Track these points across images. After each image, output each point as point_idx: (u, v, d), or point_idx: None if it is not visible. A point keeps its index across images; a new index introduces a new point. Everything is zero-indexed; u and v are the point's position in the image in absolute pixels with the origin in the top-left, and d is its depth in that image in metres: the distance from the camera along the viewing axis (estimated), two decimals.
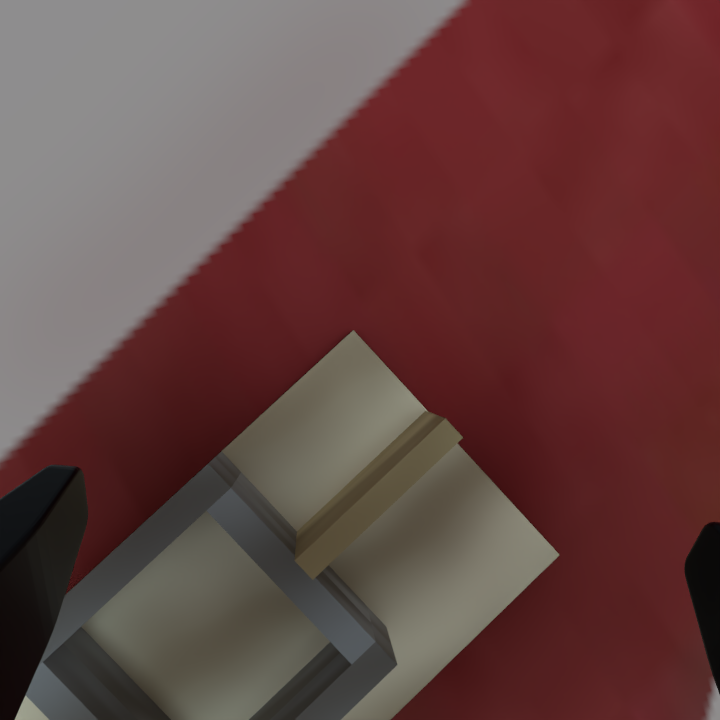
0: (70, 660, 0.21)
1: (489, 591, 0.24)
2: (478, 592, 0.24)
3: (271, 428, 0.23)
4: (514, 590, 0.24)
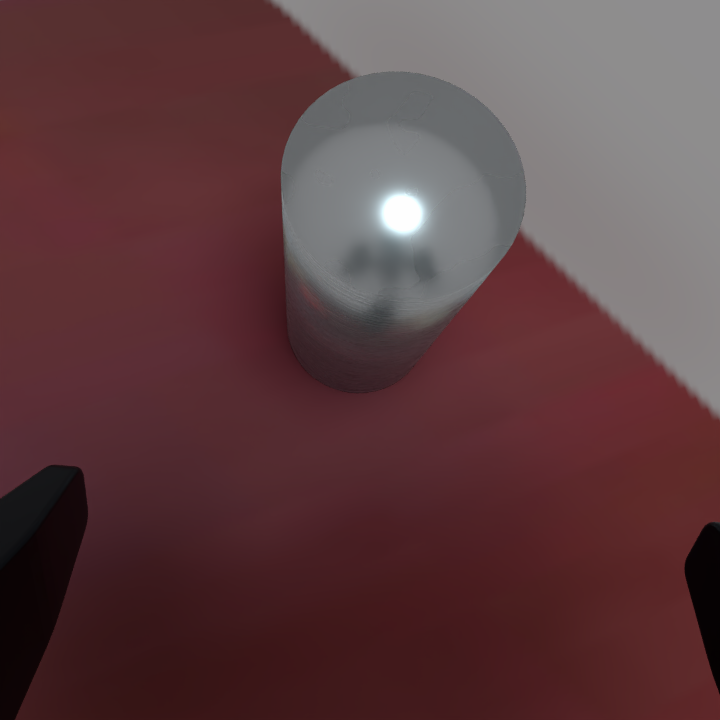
0: None
1: None
2: None
3: None
4: None
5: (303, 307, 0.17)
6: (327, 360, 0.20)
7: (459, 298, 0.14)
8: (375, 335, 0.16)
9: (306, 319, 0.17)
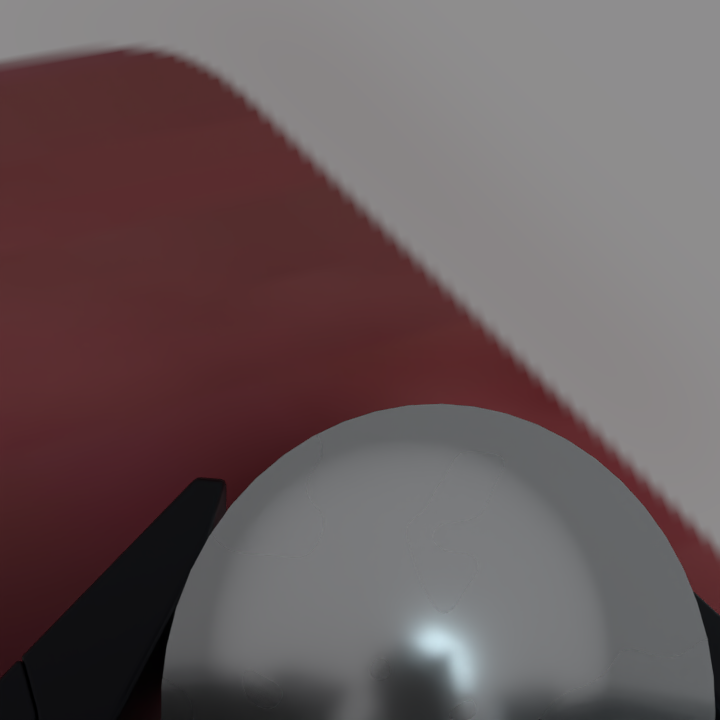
0: None
1: None
2: None
3: None
4: None
5: None
6: None
7: None
8: None
9: None
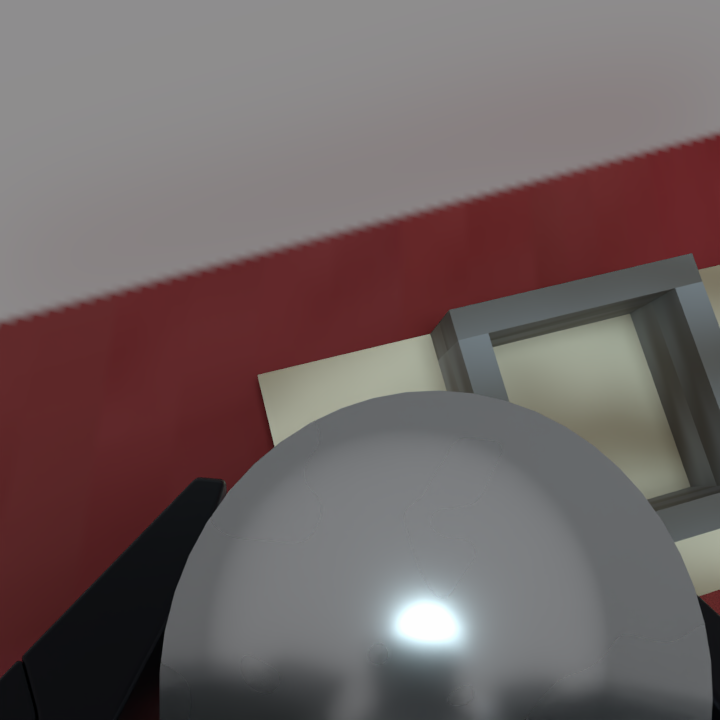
0: None
1: None
2: None
3: None
4: None
5: None
6: None
7: None
8: None
9: None
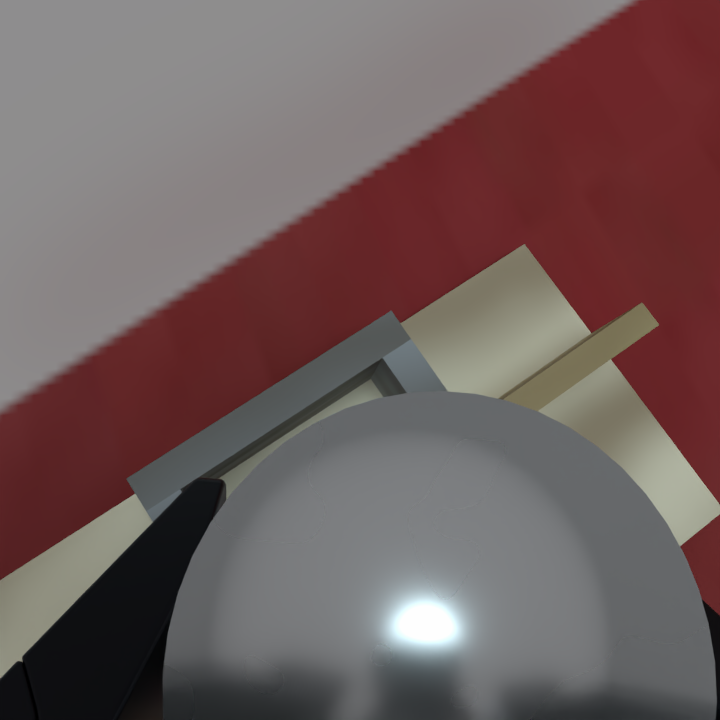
0: None
1: None
2: None
3: (432, 324, 0.22)
4: None
5: None
6: None
7: None
8: None
9: None
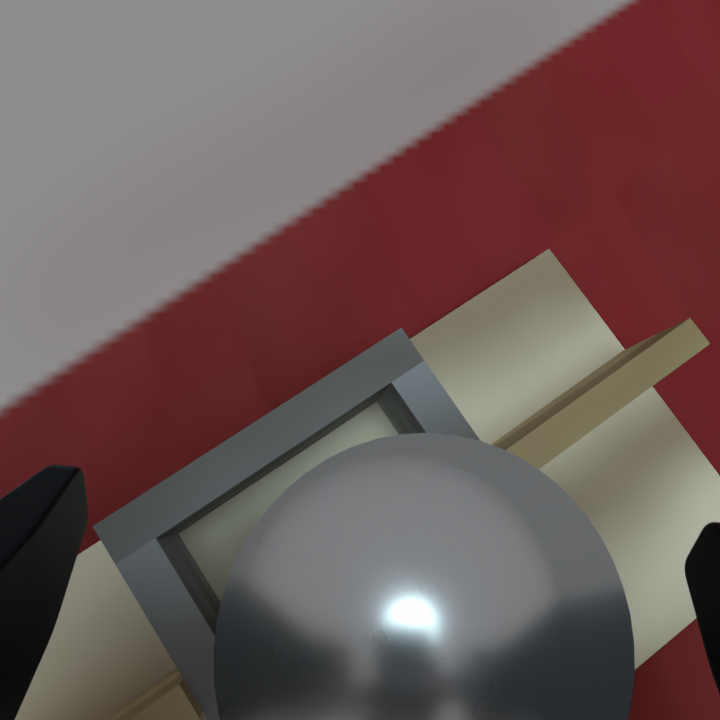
0: (178, 558, 0.16)
1: None
2: (675, 581, 0.19)
3: (446, 339, 0.20)
4: None
5: None
6: None
7: None
8: None
9: None
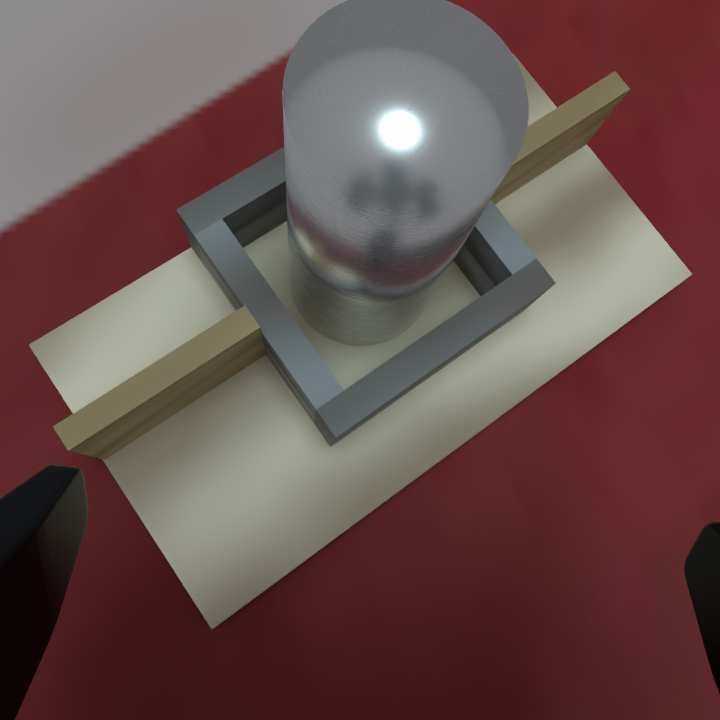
0: None
1: (624, 295, 0.24)
2: (614, 294, 0.24)
3: None
4: (648, 299, 0.24)
5: (306, 242, 0.17)
6: (331, 305, 0.19)
7: (464, 217, 0.14)
8: (379, 265, 0.16)
9: (309, 257, 0.17)
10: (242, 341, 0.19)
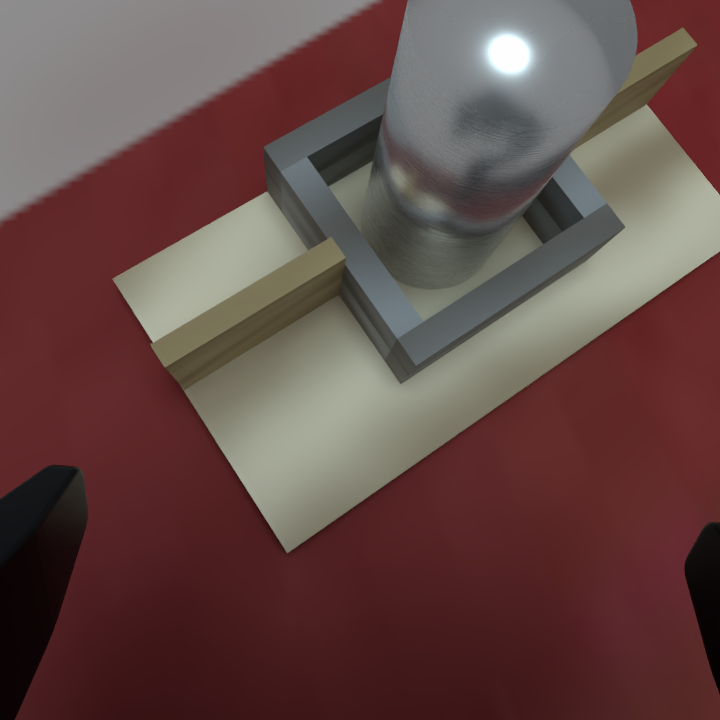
0: None
1: (683, 249, 0.25)
2: (673, 248, 0.25)
3: None
4: (706, 253, 0.25)
5: (404, 171, 0.17)
6: (413, 241, 0.20)
7: (570, 139, 0.15)
8: (478, 190, 0.16)
9: (403, 187, 0.18)
10: (327, 271, 0.20)
